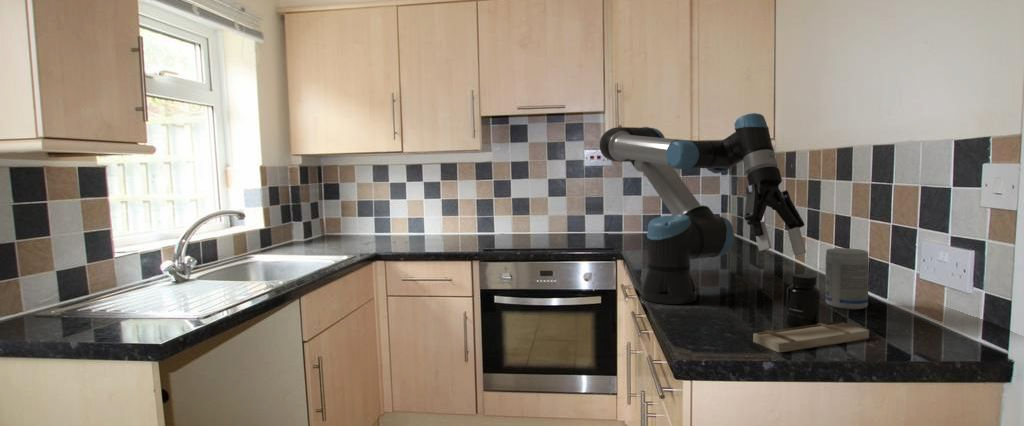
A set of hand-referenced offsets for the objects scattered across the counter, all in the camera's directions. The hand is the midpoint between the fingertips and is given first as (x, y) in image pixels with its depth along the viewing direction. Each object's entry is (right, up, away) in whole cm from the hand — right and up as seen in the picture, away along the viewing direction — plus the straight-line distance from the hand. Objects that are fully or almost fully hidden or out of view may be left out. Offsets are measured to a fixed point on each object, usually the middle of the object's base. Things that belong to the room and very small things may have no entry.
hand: (783, 251), depth 125 cm
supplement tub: (+23, -15, +13) cm, 31 cm away
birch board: (-1, -18, -13) cm, 22 cm away
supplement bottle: (+2, -17, -4) cm, 18 cm away
